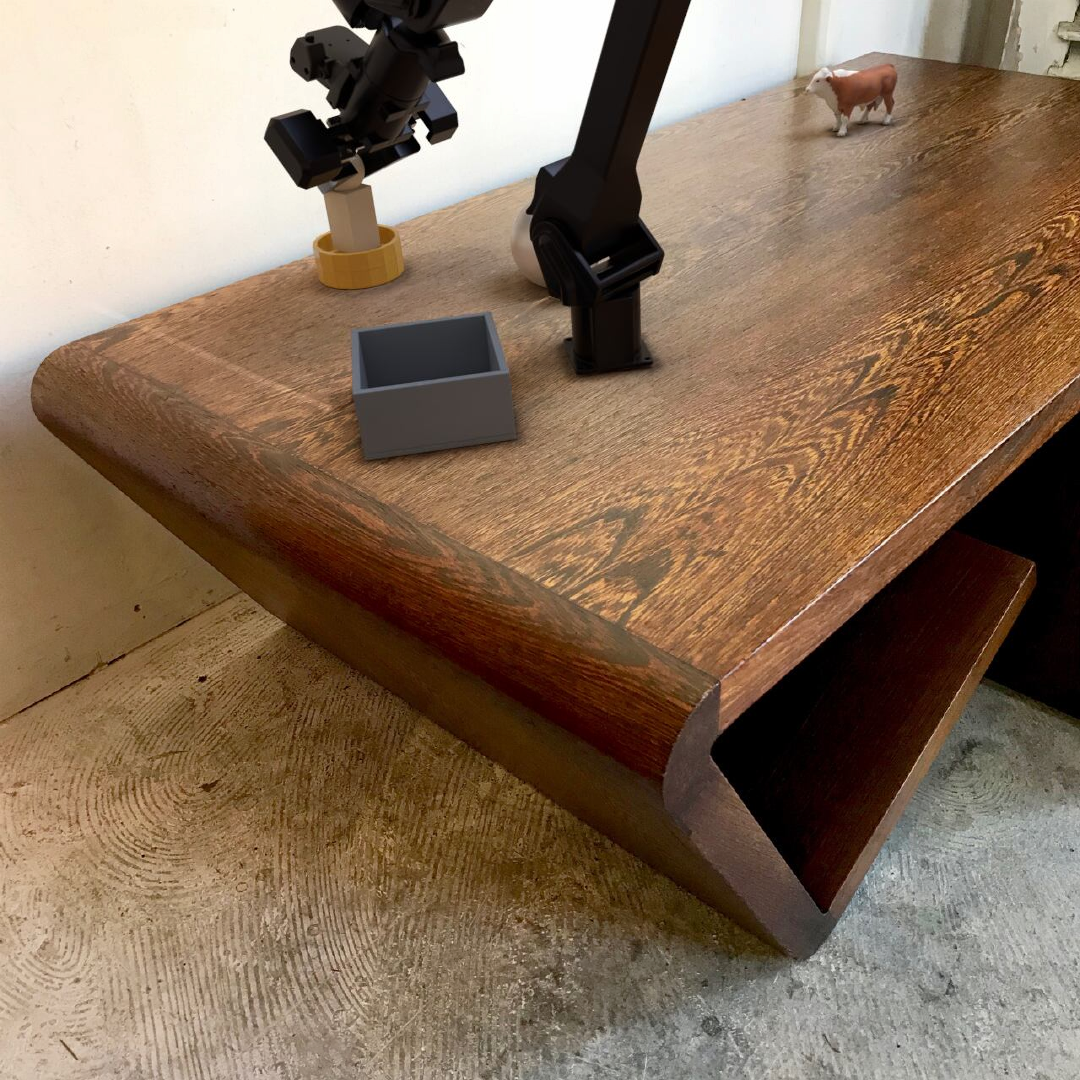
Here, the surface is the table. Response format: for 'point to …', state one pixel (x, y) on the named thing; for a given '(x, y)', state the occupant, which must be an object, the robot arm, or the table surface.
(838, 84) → the bull figurine
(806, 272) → the table surface
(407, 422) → the bin
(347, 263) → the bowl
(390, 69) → the robot arm
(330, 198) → the ball-topped square peg
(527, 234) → the ghost figurine
